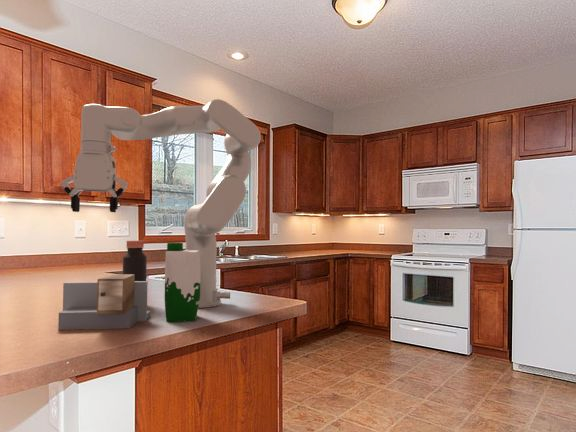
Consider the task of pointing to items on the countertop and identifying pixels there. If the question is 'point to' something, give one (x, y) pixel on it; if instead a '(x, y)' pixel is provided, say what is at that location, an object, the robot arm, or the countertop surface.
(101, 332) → the countertop surface
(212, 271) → the robot arm
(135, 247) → the bottle
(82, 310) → the wall board
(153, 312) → the countertop surface
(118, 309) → the tan wooden block
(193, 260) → the milk carton
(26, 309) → the countertop surface
